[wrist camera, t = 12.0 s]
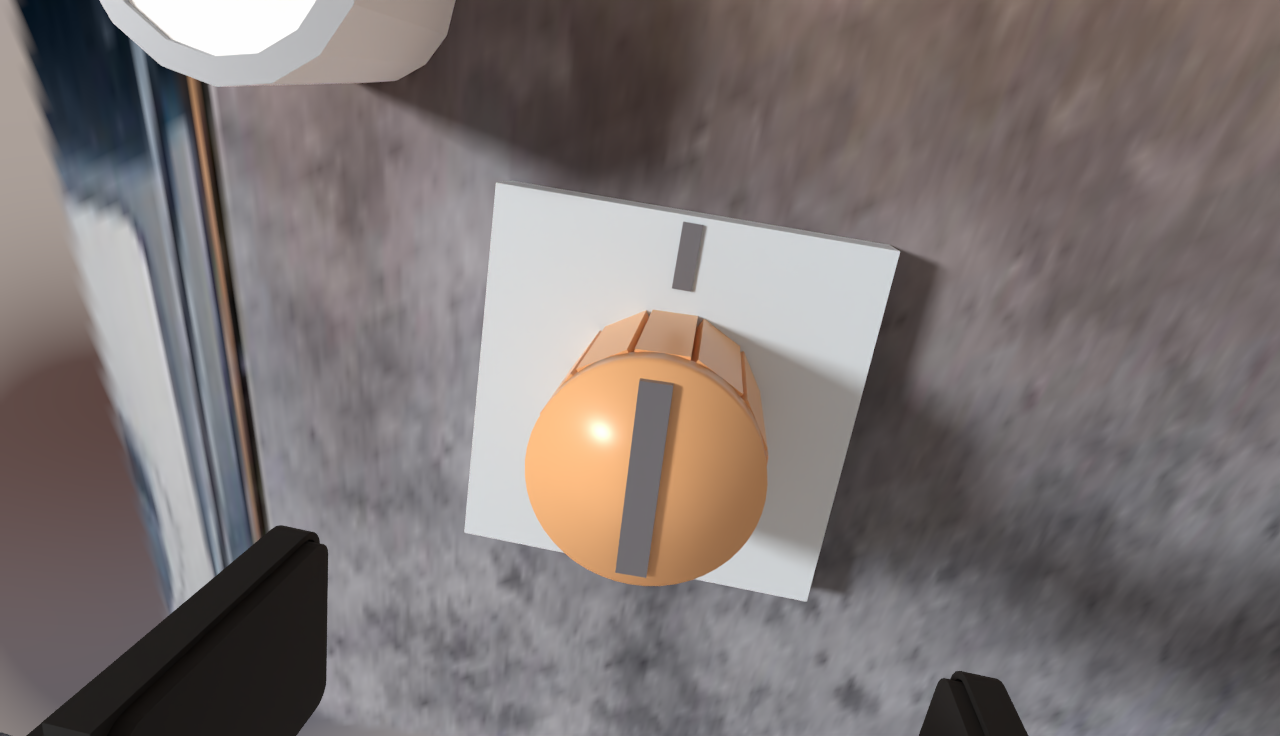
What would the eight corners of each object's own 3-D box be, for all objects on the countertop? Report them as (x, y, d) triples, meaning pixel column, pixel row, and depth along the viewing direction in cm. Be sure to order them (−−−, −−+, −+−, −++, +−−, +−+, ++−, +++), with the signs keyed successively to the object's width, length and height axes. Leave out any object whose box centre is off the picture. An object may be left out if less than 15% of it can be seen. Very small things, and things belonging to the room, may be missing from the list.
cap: (741, 503, 24) (746, 609, 18) (562, 474, 24) (514, 569, 19) (773, 326, 22) (788, 386, 16) (579, 298, 22) (531, 347, 17)
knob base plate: (889, 244, 22) (939, 274, 17) (802, 576, 26) (821, 685, 21) (510, 180, 23) (446, 190, 18) (478, 511, 27) (417, 600, 21)
